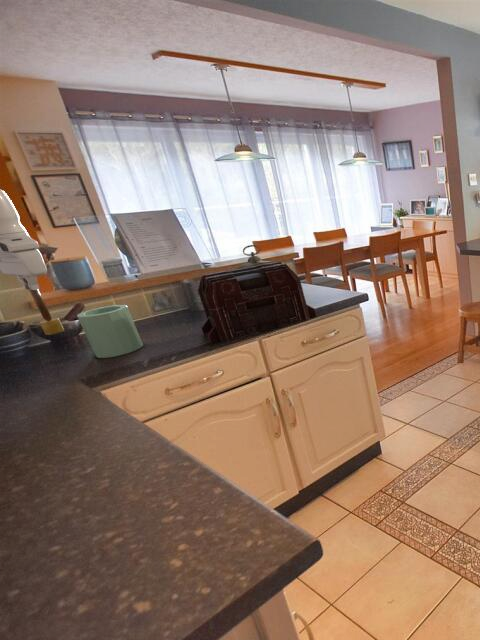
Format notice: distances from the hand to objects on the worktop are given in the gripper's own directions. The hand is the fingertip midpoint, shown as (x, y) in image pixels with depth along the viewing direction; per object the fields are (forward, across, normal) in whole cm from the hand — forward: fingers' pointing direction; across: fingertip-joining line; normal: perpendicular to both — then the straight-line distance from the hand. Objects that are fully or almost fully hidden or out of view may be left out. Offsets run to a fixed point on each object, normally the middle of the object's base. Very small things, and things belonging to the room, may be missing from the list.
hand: (32, 289), depth 132 cm
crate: (+24, +38, +42) cm, 61 cm away
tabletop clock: (+24, +12, +64) cm, 69 cm away
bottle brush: (+14, 0, 0) cm, 14 cm away
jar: (+23, +10, +10) cm, 27 cm away
